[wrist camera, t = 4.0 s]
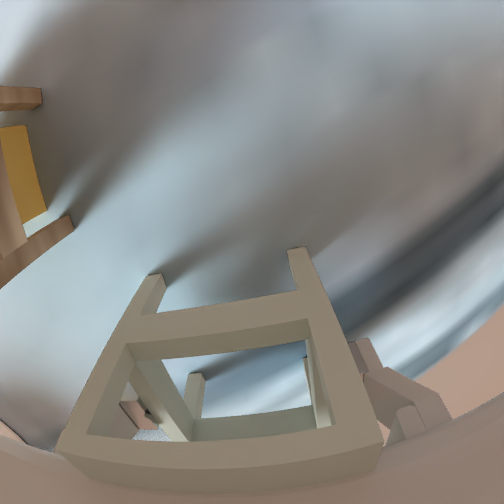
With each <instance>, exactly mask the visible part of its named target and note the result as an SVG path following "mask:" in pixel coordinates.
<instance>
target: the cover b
mask: <svg viewBox="0 0 504 504" xmlns="http://www.w3.org/2000/svg"><path fill="white" fill-rule="evenodd" d="M287 254H288V260H289V267H290V270H291V273H292V277H293V280H294V284H295V287H296V290H294V291H289V292H283V293H278V294H273V295H267V296H262V297H256V298H250V299H244V300H238V301H233V302H226V303H220V304H214V305H208V306H201V307H195V308H188V309H181V310H174V311H167V312H160V313H156V311H157V309H158V307H159V305H160V302H161V300H162V298H163V296H164V293H165V291H166V289H167V287H166V285H165V282H164V279H163V276H162V274H161V273H160V274H155V275H149V276H146V277H145V279H144V280H143V282H142V284H141V285H140V287H139V289H138V290H137V292H136V293H135V295H134V297H133V299H132V300H131V302H130V304H129V305H128V307H127V309H126V310H125V312H124V314H123V316H122V317H121V319H120V321H119V323H118V324H117V326H116V328H115V330H114V331H113V333H112V335H111V337H110V339H109V341H108V342H107V344H106V346H105V348H104V350H103V352H102V353H101V355H100V357H99V359H98V361H97V363H96V365H95V367H94V369H93V371H92V373H91V375H90V376H89V378H88V380H87V382H86V384H85V386H84V388H83V390H82V393H81V395H80V397H79V399H78V401H77V403H76V405H75V407H74V409H73V411H72V413H71V416H70V418H69V420H68V422H67V424H66V427H65V429H64V431H63V433H62V436H61V438H60V440H59V443H58V445H57V447H56V451H57V452H58V453H60V454H61V455H62V456H63V457H64V458H65V459H66V460H68V461H69V462H70V463H71V464H72V465H74V466H75V467H76V468H77V469H78V470H80V471H81V472H82V473H84V474H85V475H86V476H87V477H89V478H90V479H94V480H98V481H103V482H107V483H112V484H117V485H123V486H129V487H135V488H142V489H150V490H158V491H168V492H182V493H207V494H225V493H250V492H264V491H274V490H283V489H290V488H297V487H304V486H310V485H315V484H321V483H326V482H331V481H335V480H340V479H344V478H348V477H352V476H356V475H360V474H363V473H367V472H370V471H374V469H375V466H376V464H377V461H378V458H379V455H380V453H381V450H382V447H383V444H384V438H383V436H382V433H381V430H380V427H379V424H378V421H377V419H376V416H375V413H374V410H373V408H372V405H371V402H370V400H369V397H368V394H367V392H366V389H365V386H364V384H363V381H362V379H361V376H360V373H359V371H358V368H357V366H356V363H355V361H354V358H353V356H352V353H351V351H350V348H349V346H348V344H347V341H346V339H345V336H344V334H343V331H342V329H341V327H340V324H339V322H338V320H337V317H336V315H335V313H334V310H333V308H332V306H331V303H330V301H329V299H328V296H327V294H326V292H325V290H324V287H323V285H322V283H321V280H320V278H319V276H318V274H317V272H316V269H315V267H314V265H313V263H312V261H311V258H310V256H309V254H308V252H307V250H306V248H305V247H300V248H295V249H290V250H287ZM301 340H306V349H307V358H303V365H304V371H305V376H306V380H307V385H308V390H309V395H310V400H311V405H309V406H304V407H299V408H293V409H287V410H281V411H274V412H267V413H259V414H251V415H242V416H231V417H219V418H203V419H201V413H202V405H203V398H204V390H205V383H206V381H205V379H204V377H203V375H202V373H194V374H188V378H187V383H186V388H185V394H184V399H182V397H181V395H180V394H179V392H178V390H177V388H176V386H175V385H174V383H173V381H172V379H171V377H170V376H169V374H168V372H167V370H166V368H165V366H164V364H163V362H162V361H161V359H172V358H183V357H193V356H202V355H211V354H219V353H227V352H234V351H241V350H248V349H255V348H261V347H267V346H273V345H279V344H285V343H290V342H295V341H301ZM127 381H129V383H130V384H131V386H132V387H133V389H134V390H135V392H136V393H137V395H138V396H139V397H140V399H141V400H142V402H143V403H144V404H145V406H146V407H147V409H148V411H149V412H150V413H151V415H152V416H153V417H154V418H155V420H156V421H157V422H158V424H159V425H160V427H161V428H162V429H163V431H164V432H165V433H166V434H167V436H168V437H169V438H170V439H171V441H172V442H167V441H144V440H130V439H120V438H111V437H107V436H108V433H109V430H110V427H111V425H112V422H113V419H114V416H115V413H116V411H117V408H118V405H119V402H120V400H121V397H122V394H123V392H124V389H125V387H126V384H127Z"/></svg>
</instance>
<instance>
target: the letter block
mask: <svg viewBox="0 0 504 504" xmlns="http://www.w3.org/2000/svg"><path fill="white" fill-rule="evenodd" d="M0 139H1V145H2V150H3V155H4V160H5V165H6V169H7V173H8V178H9V182H10V185H11V189H12V193H13V196H14V200H15V203H16V207H17V210H18V213H19V216H20V219H21V222H22V224H24V223H25V222H27V221H29V220H31V219H33V218H34V217H36V216H38V215H40V214H42V213H43V212H45V211H47V209H46V206H45V203H44V199H43V196H42V192H41V189H40V185H39V182H38V178H37V174H36V170H35V166H34V162H33V157H32V153H31V148H30V143H29V138H28V133H27V128H26V125H20V126H11V127H3V128H0Z"/></svg>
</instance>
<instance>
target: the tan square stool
mask: <svg viewBox="0 0 504 504" xmlns="http://www.w3.org/2000/svg"><path fill="white" fill-rule="evenodd" d="M41 103H42V96H41V88H29V87H9V86H0V111H14V110H32V109H33V108H35V107H36V106H38V105H40V104H41ZM73 231H74V228H73V225H72V222H71V219H70V216H69V215H67V216H65V217H62V218H59V219H57V220H55V221H53V222H52V223H50V224H48V225H47V226H45V227H44V228H42V229H40V230H39V231H37V232H36V233H34V234H33V235H31V236H30V237H28V238H27V237H26V234H25V231H24V228H23V225H22V222H21V219H20V216H19V213H18V210H17V207H16V203H15V200H14V196H13V193H12V189H11V185H10V182H9V178H8V173H7V169H6V165H5V160H4V155H3V150H2V145H1V139H0V289H1V288H2V287H3V286H5V285H6V284H7V283H8V282H9V281H10V280H11V279H13V278H14V277H15V276H16V275H17V274H19V273H20V272H21V271H22V270H23V269H25V268H26V267H27V266H28V265H29V264H31V263H32V262H33V261H34V260H36V259H37V258H38V257H40V256H41V255H42V254H43V253H45V252H46V251H47V250H49V249H50V248H51V247H53V246H54V245H55V244H57V243H58V242H59V241H61V240H62V239H63V238H65V237H66V236H68V235H69V234H70V233H72V232H73Z"/></svg>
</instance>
